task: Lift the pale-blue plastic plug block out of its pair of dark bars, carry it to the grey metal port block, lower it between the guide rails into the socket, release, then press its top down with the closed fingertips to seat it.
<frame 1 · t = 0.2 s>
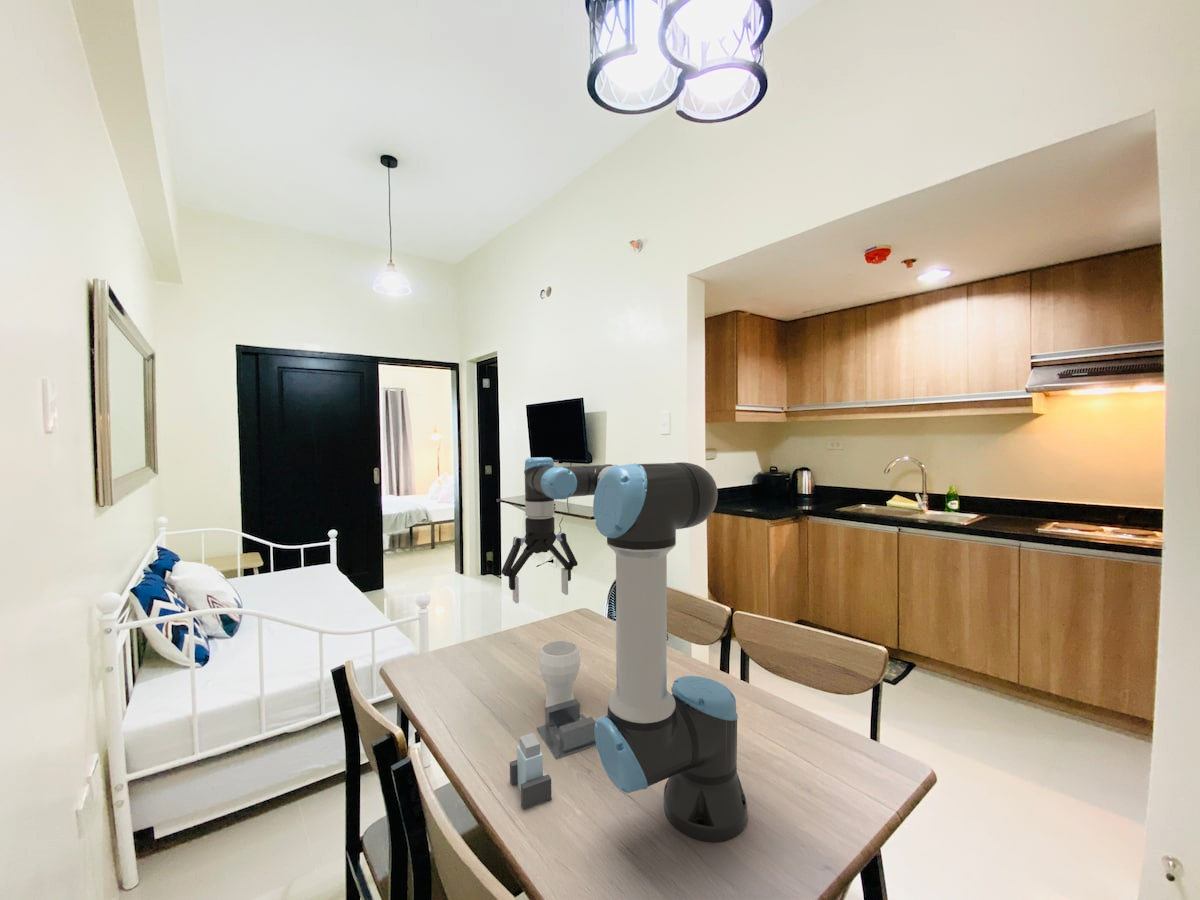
hand: (540, 597, 125), 28 cm above the table, fingers open, 13 cm apart
cup: (560, 705, 124), on the table
port: (570, 735, 111), on the table
plug: (530, 790, 94), on the table
pair of dark bars: (530, 790, 94), on the table
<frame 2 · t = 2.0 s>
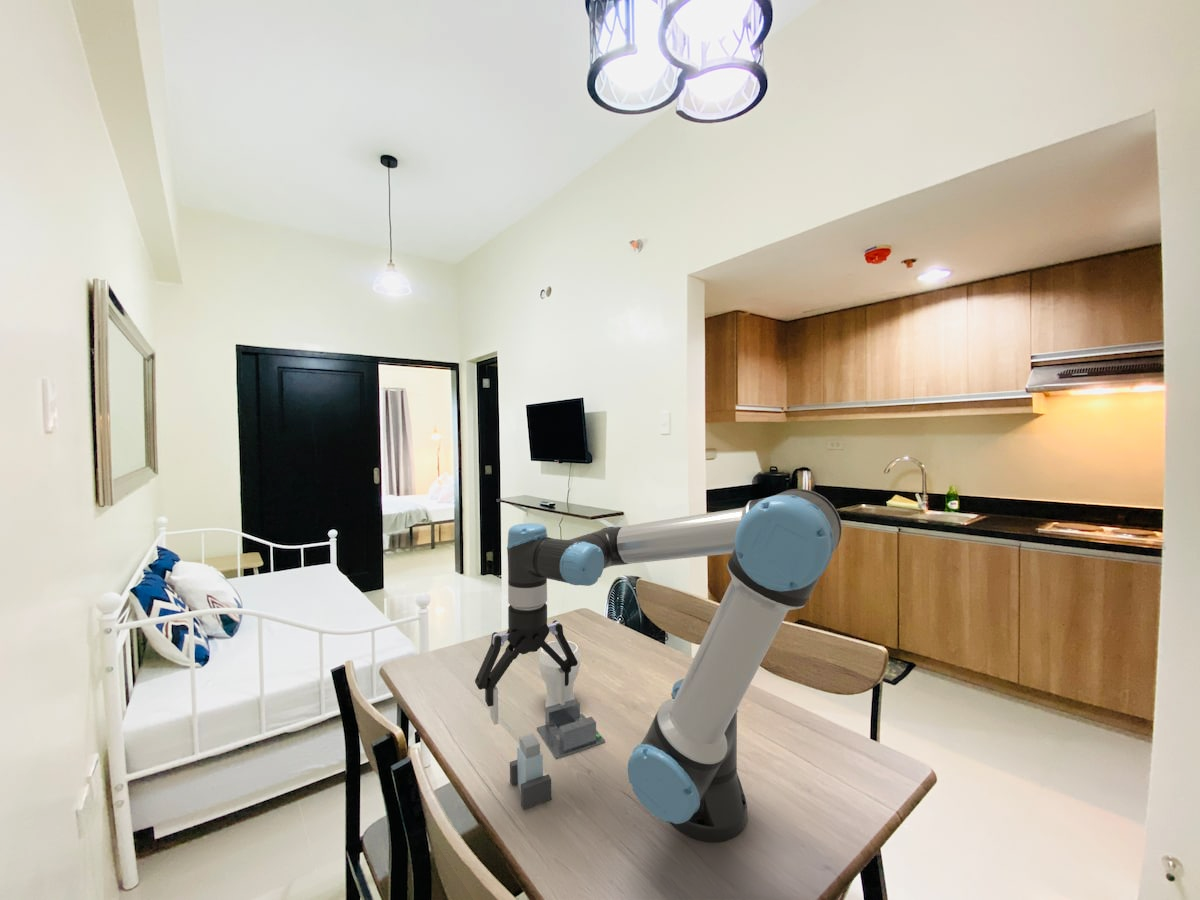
hand: (528, 711, 94), 16 cm above the table, fingers open, 13 cm apart
nothing on the table moved.
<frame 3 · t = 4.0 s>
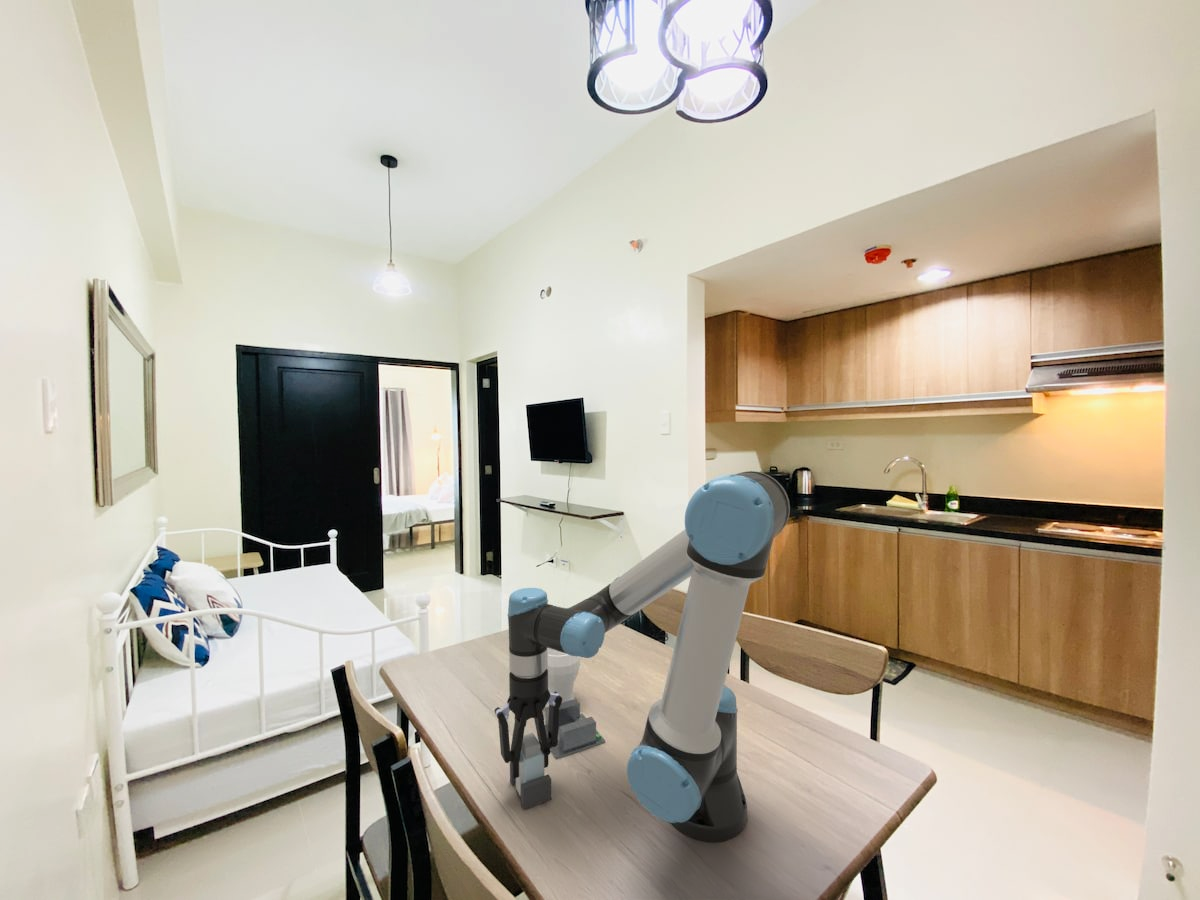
hand: (530, 787, 94), 1 cm above the table, fingers closed on plug, 3 cm apart
plug: (530, 790, 94), on the table, touching gripper
everything else where it was.
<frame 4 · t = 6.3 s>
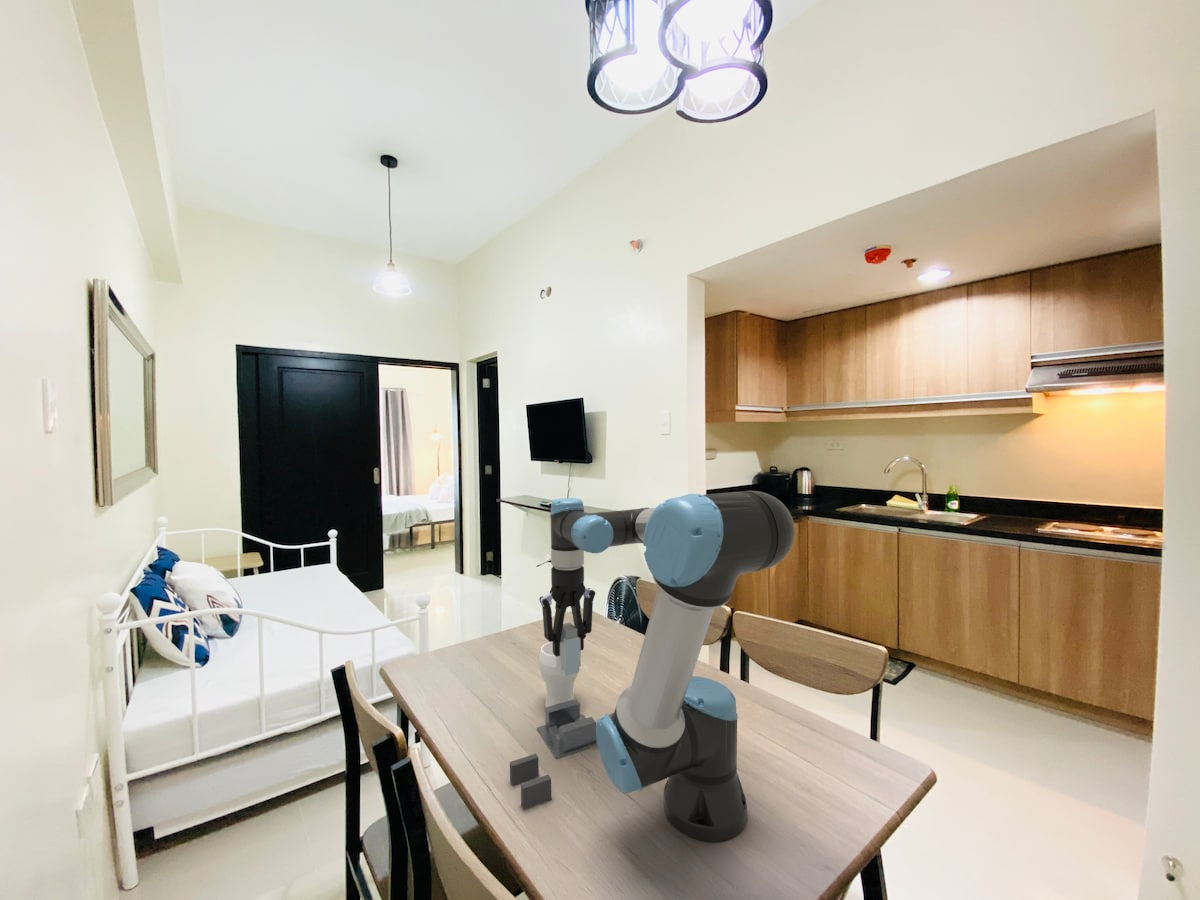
hand: (568, 666, 111), 16 cm above the table, fingers closed on plug, 3 cm apart
plug: (567, 668, 111), point 16 cm above the table, touching gripper
everything else where it was.
when the fingers open (3 cm above the table, at t = 8.6 s): plug drops 1 cm, resting on port.
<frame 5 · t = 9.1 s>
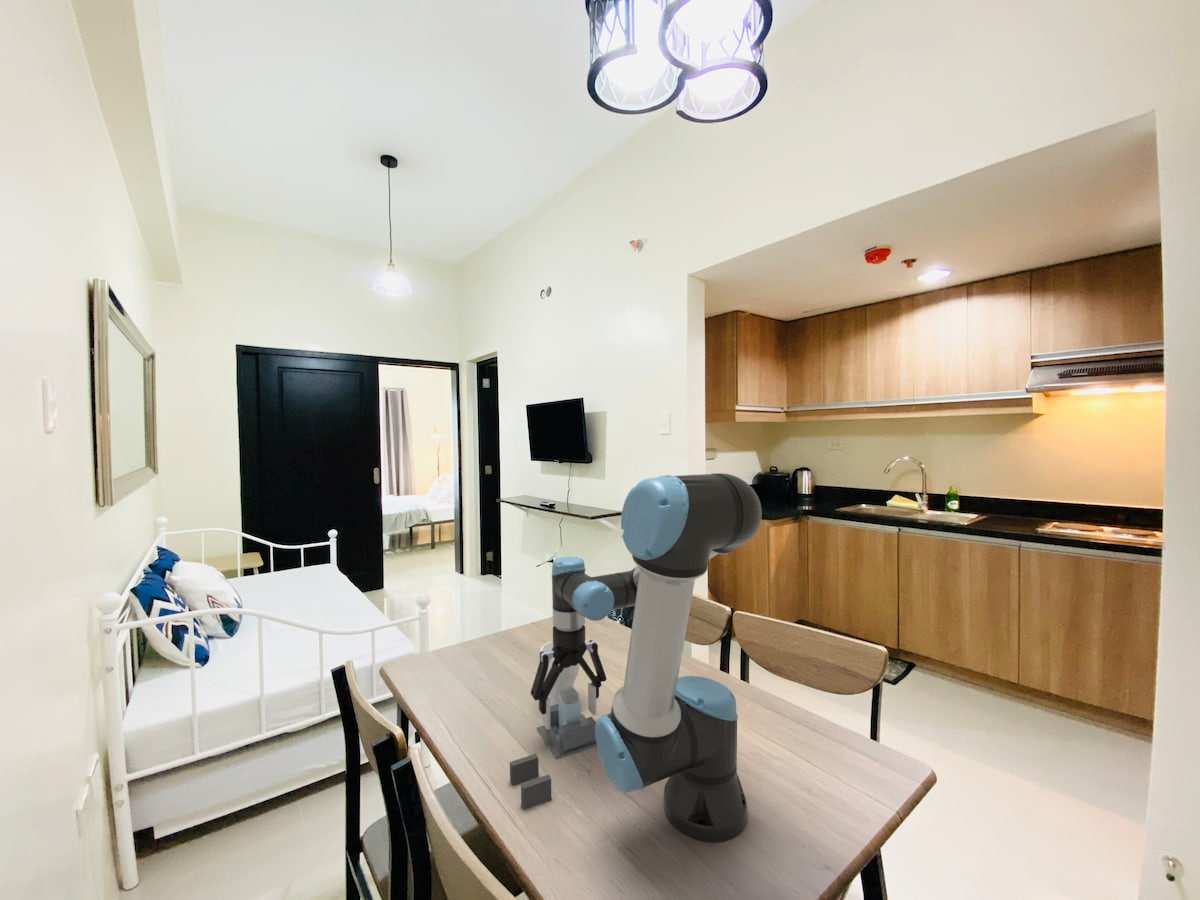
hand: (570, 718, 111), 4 cm above the table, fingers open, 11 cm apart
plug: (569, 732, 112), resting on port
everything else where it was.
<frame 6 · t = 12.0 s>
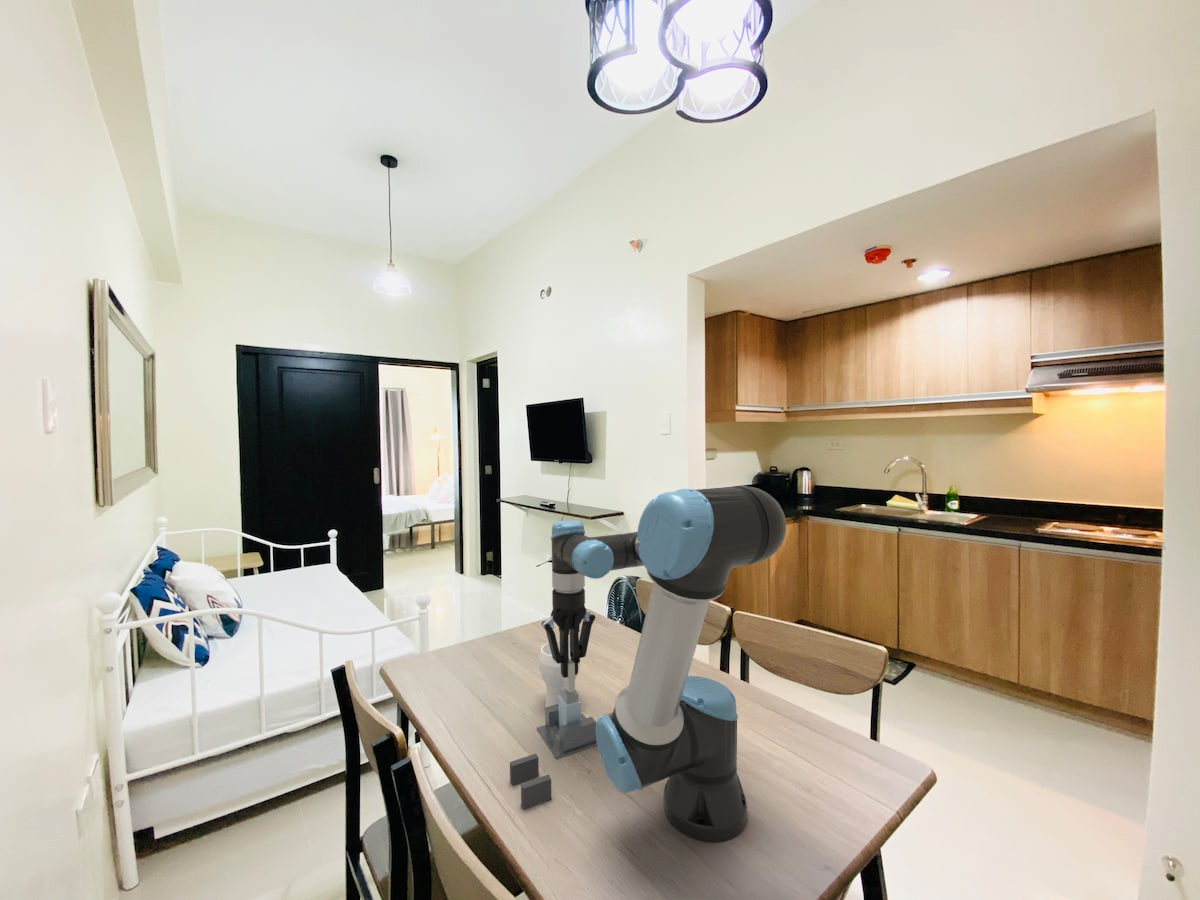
hand: (569, 689, 111), 11 cm above the table, fingers closed
nothing on the table moved.
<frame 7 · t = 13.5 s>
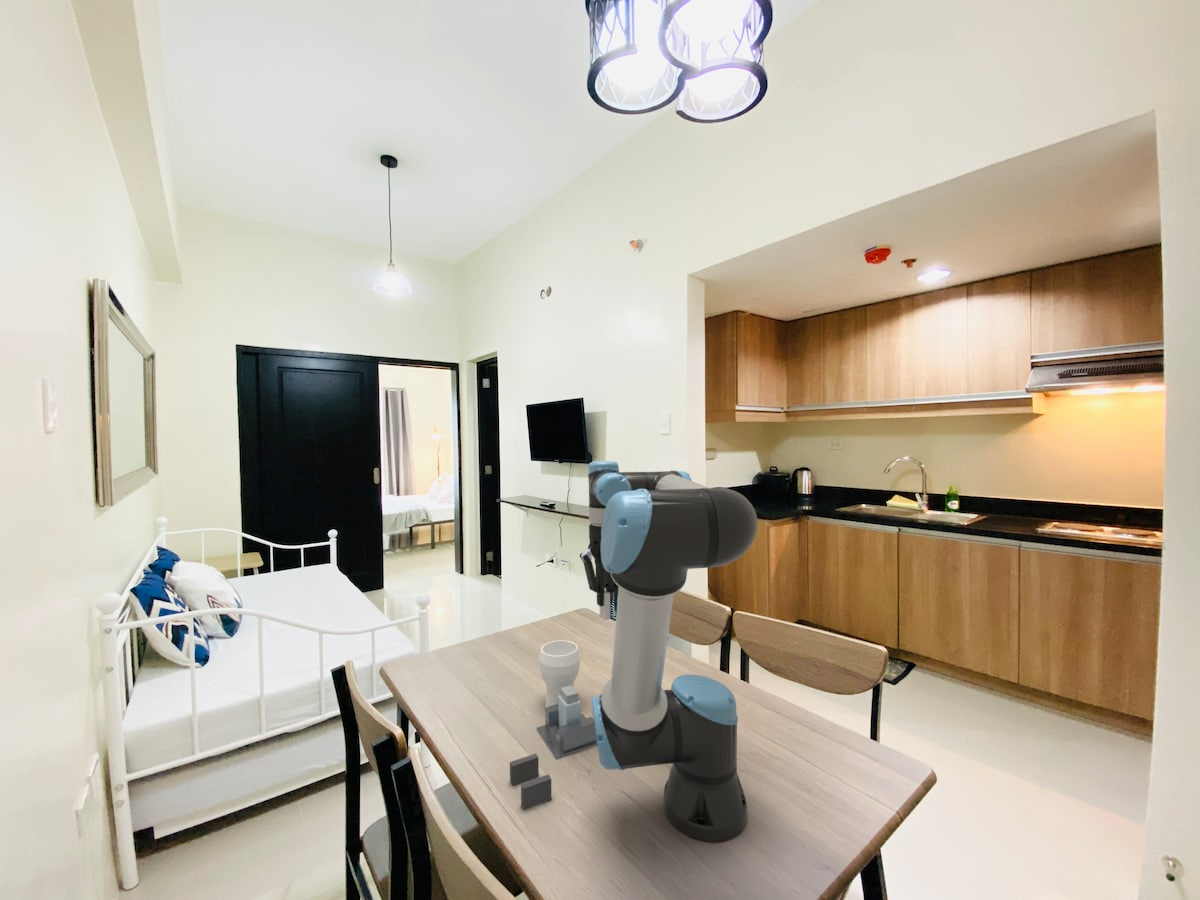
hand: (604, 617, 120), 24 cm above the table, fingers closed
nothing on the table moved.
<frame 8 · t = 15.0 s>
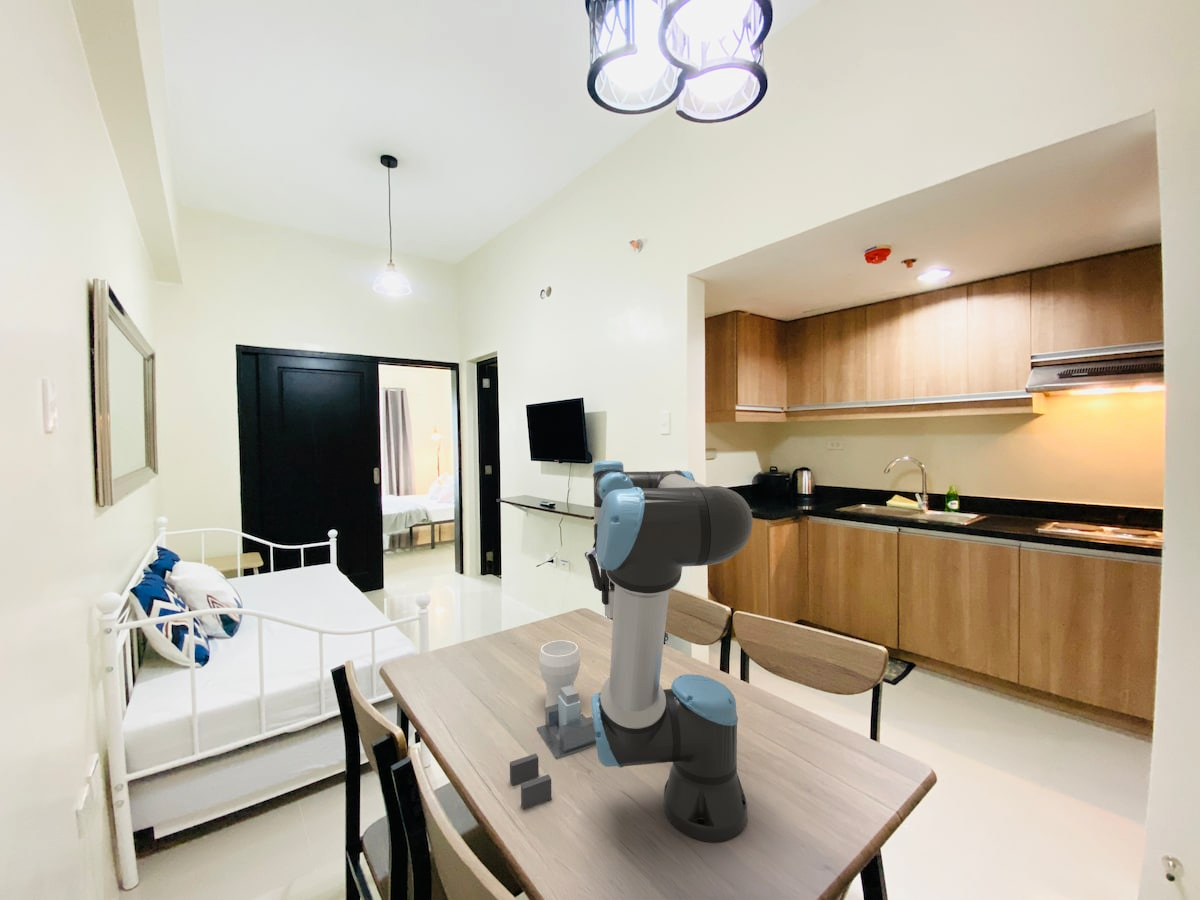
hand: (609, 616, 120), 24 cm above the table, fingers closed
nothing on the table moved.
at the end: plug 0.4 cm off-centre on the port, point 0.5 cm above the port's base; plug tilted 0°; the gripper is holding nothing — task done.
